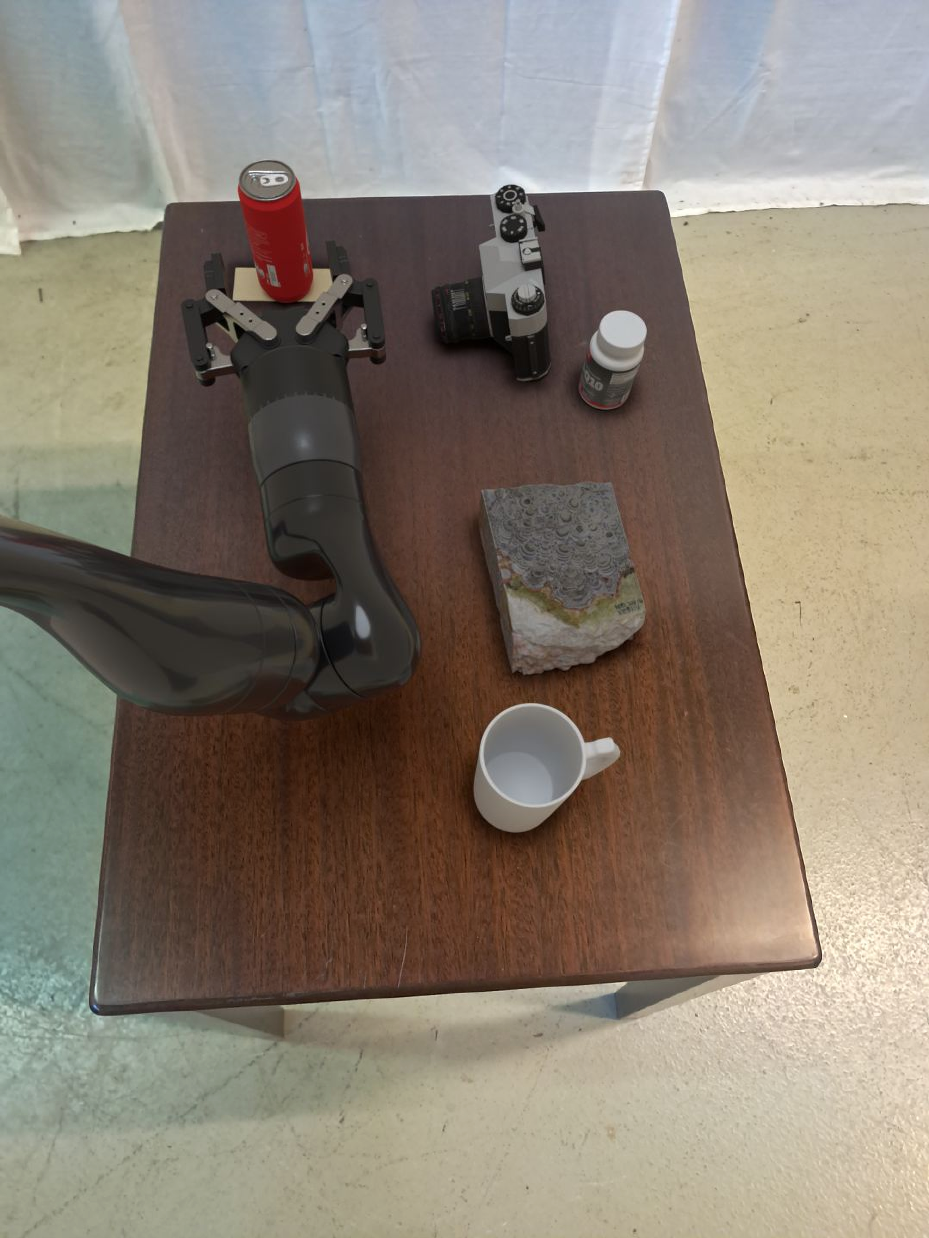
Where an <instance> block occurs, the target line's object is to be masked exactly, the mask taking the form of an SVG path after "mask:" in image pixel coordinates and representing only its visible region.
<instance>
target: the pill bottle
mask: <svg viewBox="0 0 929 1238" xmlns="http://www.w3.org/2000/svg"><path fill="white" fill-rule="evenodd" d="M647 332H648V330H647V326H646V323H645V321H644V320H643V319H642V317H640V316H639V315H637V314H636V313H634V312H631V311H629V310H613V311H611V312H609V313H607V314H606V315H605V316H604V317H602V319H601V321H600V322H599V326H598V329H597V330H596V331H594V334H593V335H592V336H591V339H590V341H589V344H588V348H587V351H586V355H585V358H584V362H583V365H582V369H581V373H580V378H579V381H578V391H579V395H580V397H581V398H582V399H583V401H584V402H585V403H586V404H588V405H589V406H590V407H592V408H595V409H598V410H604V411H605V410H613V409H617V408H619V407H621V406H622V405H623V404H624V403H625V402H626V401H627V400H628V397H629V395H630V392H631V390H632V387H633V384H634V381H635V379H636V377H637V373H638V371H639V368H640V365H641V362H642V360H643V357H644V352H645V345H644V344H645V341H646V338H647Z"/></svg>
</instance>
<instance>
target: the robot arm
mask: <svg viewBox="0 0 929 1238" xmlns="http://www.w3.org/2000/svg"><path fill="white" fill-rule="evenodd" d="M336 243H337V242H336V240H335V239H327V240H325V247H326V256H327V263H328V269H330V273H331V279H332V285H331V287H330V288H329V289H328V291H327V292H322V293H321V295H320V296H319V298H318V299H317V300H316V302H313V304H312V306H311V307H310V308H306V307H305V305H299V306H292V307H289V308H286V309H283V310H282V309H281V310H280V309H265V310H261V313H260V314H259V315H256V314H255V313H254V312H253V311H252V310H250V309H248V308H247V307H246V306H245V305H243V304H242V303H241V302H240V301H233V299H232V298H230V293H229V284H228V279H227V278H228V277H227V271H226V267H225V264H224V259H223V256H222V255H223V254H222V252H221V251H217V252H211V253H210V257H211V260H205V262H204V264H203V272H204V273H203V274H204V282H205V289H206V290H205V291H206V292H205V295H204V297H202V298H200V299H198V300H195V299H193V298H186V299H184V300H183V301H182V302H181V304H180V309H181V314H182V319H183V320H182V321H183V325H184V330H185V331H184V332H185V336H186V340H187V347H188V352H189V357H190V361H191V364H192V366H193V370H194V372H195V375H196V378H197V381H198V383H199V384H200V385H201V386H202V387H205V388H208V387H212V386H213V385H215V383H216V381H217V379H216V378H217V377H223V376H229V375H234V374H235V376H237V378H238V379H239V380H240V387H241V392H242V393H241V394H242V401H243V409H244V416H245V423H246V431H247V439H248V445H249V447H248V448H249V455H250V462H251V466H252V470H253V474H254V478H255V481H256V484H257V487H258V492H259V500H260V506H261V507H260V508H261V515H262V522H263V528H264V529H263V530H264V535H265V536H264V537H265V542H266V548H267V549H266V550H267V552H268V556H269V559H270V561H271V563H272V565H273V566H274V568H275V569H276V570H277V571H278V572H279V573H280V574H282V575H283V576H285V577H287V578H290V579H293V580H297V581H303V582H305V581H306V582H318V581H328V580H334V584H335V585H334V592H333V593H330V594H327V595H325V596H323V597H321V598H319V599H316V600H314V601H312V602H309V603H307V604H306V603H304V602H303V601H302V600H301V599H299V598H298V597H297V596H296V595H294V594H292V593H291V592H289V591H286V590H284V589H282V588H280V587H276V586H274V585H269V584H265V583H260V582H253V581H247V580H241V579H235V578H229V577H224V576H223V577H222V576H216V575H215V576H214V575H209V574H208V575H207V574H200V573H194V572H190V571H184V570H181V569H180V570H179V569H175V568H171V567H168V566H163V565H159V564H155V563H153V562H148V561H145V560H142V559H140V558H136V557H133V556H129V555H126V554H123V553H120V552H118V551H115V550H111V549H109V548H106V547H103V546H100V545H97V544H95V543H92V542H88V541H85V540H82V539H80V538H76V537H74V536H72V535H71V536H70V535H67V534H64V533H61V532H58V531H55V530H52V529H49V528H45V527H43V526H39V525H36V524H33V523H30V522H26V521H23V520H20V519H17V518H13V517H9V516H6V515H3V514H0V607H2V608H5V609H9V610H10V611H13V612H15V613H18V614H20V615H21V616H23V617H24V618H26V619H28V620H30V621H31V622H33V623H34V624H35V625H36V626H38V627H39V628H40V629H42V630H43V631H44V632H46V633H47V634H48V635H50V636H51V637H52V638H53V639H54V640H55V641H56V642H58V644H60V645H61V646H62V647H63V648H64V649H65V650H66V651H67V652H69V653H70V654H71V655H72V656H73V658H74V659H76V660H77V661H78V662H79V663H80V664H81V666H82V667H84V668H85V669H86V670H87V671H88V672H89V673H90V674H92V676H93V677H95V678H96V679H97V680H98V681H100V682H101V684H103V685H104V686H105V687H107V689H109V690H110V691H111V692H112V693H114V694H115V695H117V696H118V697H120V698H121V699H123V700H125V701H127V702H129V703H131V704H133V705H135V706H137V707H139V708H141V709H144V710H146V711H150V712H153V713H158V714H163V715H168V716H173V717H186V718H187V717H188V718H189V717H190V718H191V717H211V716H226V715H227V716H228V715H246V714H255V715H258V716H260V717H264V718H268V719H272V720H275V721H279V722H285V723H287V722H288V723H297V722H298V723H299V722H306V721H312V720H316V719H321V718H324V717H328V716H330V715H333V714H335V713H338V712H341V711H343V710H346V709H348V708H351V707H354V706H357V705H359V704H363V703H365V702H369V701H371V700H374V699H377V698H380V697H382V696H385V695H387V694H390V693H392V692H395V691H398V690H400V689H402V688H403V687H405V686H407V685H408V684H409V683H410V681H411V680H413V678H414V677H415V676H416V673H417V671H418V669H419V667H420V663H421V659H422V655H423V637H422V631H421V626H420V623H419V622H418V619H417V617H416V615H415V612H414V610H413V608H412V607H411V605H410V602H409V601H408V599H407V597H406V595H405V593H404V592H403V590H402V589H401V587H400V586H399V583H398V582H397V581H398V580H397V579H396V577H395V576H394V574H393V571H392V569H391V567H390V565H389V563H388V561H387V559H386V556H385V553H384V551H383V549H382V547H381V545H380V543H379V541H378V538H377V536H376V533H375V530H374V527H373V524H372V517H371V512H370V507H369V501H368V496H367V495H368V494H367V491H366V485H365V479H364V472H363V471H364V468H363V467H364V466H363V465H364V464H363V462H364V461H363V449H362V443H361V436H360V432H359V427H358V421H357V417H356V412H355V405H354V401H353V396H352V395H353V394H352V391H351V385H350V380H349V375H348V374H349V373H348V369H347V368H348V364H349V362H350V359H362V358H363V359H364V358H369V361H370V362H371V363H372V364H374V365H376V366H377V365H378V366H379V365H383V364H384V363H385V362H386V361H387V351H386V333H385V327H384V318H383V311H382V305H381V297H380V289H379V282H378V281H377V279H375V278H372V277H367V278H364V279H363V280H362V281H360V280H357V279H355V278H354V277H353V276H352V273H351V268H350V264H349V263H350V262H349V258H348V253H347V250H346V249H345V247H344V246H343V245H338V246H337V244H336ZM354 307H355V308H360V309H363V316H364V323H361V324H360V327H358V328H357V329H356V331H355V336H354V337H353V338H352V339H348V338H347V336H346V335H345V334H344V333H342V332H341V331H342V328H343V326H344V325H343V324H344V321H345V320H346V319H347V317H348V315H349V314H350V313H351V311H352V310H353V309H354ZM214 324H215V326H217V327H218V328H220V329H221V330H222V331H224V332H225V333H226V334H227V335H228V336H229V337H230V338H231V340H232V341H233V342H234V346H233V347H232V348H231V350H230V353H229V355H227V354H224V353H222V352H221V349H220V348H219V347H218V346H217V345H214V344H213V343H212V342H209V338H208V333H207V327H209V326H211V325H214Z"/></svg>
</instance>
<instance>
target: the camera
mask: <svg viewBox="0 0 929 1238" xmlns="http://www.w3.org/2000/svg"><path fill="white" fill-rule="evenodd" d="M489 196H490V203H491V204H490V205H491V211H492V218H493V223H490V224H489V225H488V228H489V229H490V230H494V232H495V233H494V234H495V237H494V238H492V239H489V240H487V241H485V242H482V243H481V244H479V245H478V252H479V259H480V267H481V273H482V276H477V277H472V278H468V279H465V280H463V281H462V282H455V283H452V284H451V283H445V284H444V285H442V286H440V285H437V286H435V288H434V289H431V292H430V293H431V303H432V311H433V316H434V322H435V327H436V332H437V336H438V339H439V342H440V343H444V344H445V345H447V344H449V343H458V342H460V341H467V340H471V339H473V340H480V339H481V340H482V339H487V338H492V339H493V340H494V341H496V343H498V344H499V345H501V346H502V347H503V348H504V349H505V350H506V351H508V352H509V353H510V354H511V355H513V361H514V362H513V363H514V368H515V374H516V380H517V381H520V382H527V381H532V380H538V379H539V380H540V378H542V377H544V376H545V375H547V374H548V373H549V370H550V368H551V366H552V363H551V361H552V360H551V354H550V342H549V327H548V314H547V313H548V312H547V311H548V310H547V301H546V293H545V287H544V286H546V276H545V266H544V260H543V253H542V249H541V246H539V239H538V236H536V234H535V228H536V229H537V232H538V233H542V232H546V223H545V222H544V219H543V218H542V215H541V212H540V209H539V206H538V204H534V205H530V202H529V196H528V195H527V194H526V191H525V189H524V188H523V187H521V185H517V184H513V183H512V184H506V185H503V186H502V187H500V188H499V189H498V190H497V191H496V192H494V193H492V194H490V195H489ZM532 215H533V218H532Z"/></svg>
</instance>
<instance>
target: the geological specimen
mask: <svg viewBox="0 0 929 1238" xmlns="http://www.w3.org/2000/svg"><path fill="white" fill-rule="evenodd" d="M478 517H479V518H478V531H479V535H480V540H481V545H482V548H483V551H484V556H485V562H486V566H487V570H488V574H489V578H490V583H491V585H492V589H493V595H494V598H495V604H496V608H497V610H498V612H499V623H500V627H501V631H502V636H503V641H504V645H505V649H506V655H507V658H508V663H509V666H510V669H511V674H514V673H516V672H519V673H521V674H523V675H524V676H525V675H528V676H529V675H533V674H542V673H544V672H545V671H552V670H554V669H559V670H561V671H564V672H565V671H569V670H570V669H571V667H572V666H578V665H589V664H592V663H595V661H596V659H597V658H598V657H600V656H603V655H604V654H605V653H606V652H609V651H612V650H615V649H617V648H619V646H621V645H623V644H624V642H626V641H627V640H629V641H633V639H634V634H635V633H637V631H639V630H640V629H641V628H642V626H643V625H644V623H645V620H646V614H647V613H646V612H647V609H646V605H645V601H644V598H643V595H642V590H641V586H640V584H639V583H640V582H639V580H638V576H637V572H636V568H635V565H634V561H633V559H632V557H631V551H630V547H629V543H628V539H627V535H626V532H625V530H624V529H625V528H624V525H623V522H622V517H621V513H620V510H619V508H618V504H617V499H616V496H615V491H614V489H613V485H612V482H611V481H608V482H598V481H595V482H593V481H590V480H586V481H582V482H578V483H573V484H564V485H561V484H554V483H540V484H522V485H519V486H515V487H501V488H500V487H499V488H495V489H492V488H487V489H486V488H485V489H481V490H480V500H479V515H478Z"/></svg>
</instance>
